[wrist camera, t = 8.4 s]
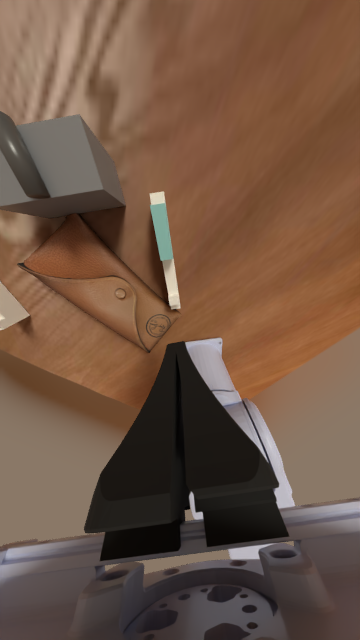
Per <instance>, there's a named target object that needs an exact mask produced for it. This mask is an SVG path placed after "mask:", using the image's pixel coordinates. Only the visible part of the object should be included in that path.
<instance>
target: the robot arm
mask: <svg viewBox="0 0 360 640" xmlns="http://www.w3.org/2000/svg"><path fill="white" fill-rule="evenodd" d="M219 342H220V343H219ZM221 356H222V339H221V338H214V339H207V340H199V341H192V342H184V341H182V342H177V343H171V344H168V345H167V348H166V352H165V355H164V359H163V362H162V365H161V368H160V370H159V373H158V375H157V378H156V380H155V383H154V385H153V387H152V389H151V391H150V394H149V396H148V398H147V400H146V402H145V403H144V405H143V407H142V409H141V411H140V413H139V415H138V416H137V418H136V420H135V421H134V423H133V425H132V426H131V428H130V430H129V431H128V433H127V435H126V436H125V438H124V440H123V441H122V443H121V444H120V446H119V447H118V449H117V450H116V452H115V453H114V454H113V456H112V458H111V459H110V460H109V462H108V463H107V465H106V467H105V468H104V469H103V471H102V472H101V474H100V477H99V480H98V483H97V486H96V489H95V491H94V494H93V498H92V502H91V505H90V509H89V512H88V516H87V520H86V523H85V527H84V530H85V533H96V534H89V535H82V536H74V537H67V538H60V539H53V540H45V541H38V540H37V539H32V540H25V541H17V542H13V543H9V544H6V545H3V546H1V547H0V640H360V497H359V498H352V499H344V500H338V501H330V502H323V503H315V504H308V505H301V506H295V504H294V501H293V499H292V496H291V495H292V490H291V487H290V485H289V482H288V480H287V477H286V474H285V472H284V469H283V462H282V459H281V456H280V454H279V451H278V449H277V447H276V444H275V442H274V440H273V438H272V436H271V433H270V431H269V429H268V427H267V425H266V423H265V421H264V419H263V418H262V415H261V414H260V412H259V410H258V409H257V407H256V406H255V404H254V403H253V402H251V401H250V400H248V399H247V398H244V399H242V400H241V398H240V395H239V393H238V391H236V390H235V388H234V386H233V383H232V381H231V378H230V376H229V374H228V371H227V369H226V367H225V364H224V362H223V360H222V357H221ZM242 401H243V402H242ZM190 506H191V510H192V515H193V517H194V518H195V520H191V521H185V510H188V509H190ZM101 532H103V533H101ZM288 541H294V546H291V545H288V544H285V543H280V542H288ZM226 549H228V552H229V555H230V559H229V560H212V561H204V562H197V563H191V564H186V565H181V566H177V567H173V568H169V569H165V570H161V571H157V572H152V573H148V574H144V565H143V563H139V562H134V561H142V560H149V559H156V558H165V557H172V556H180V555H187V554H196V553H203V552H211V551H219V550H226ZM118 563H121V564H119V565H117V566H115V567H113V568H111V569H109V570H108V571H105V565H111V564H118Z"/></svg>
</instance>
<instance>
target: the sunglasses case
mask: <svg viewBox="0 0 360 640" xmlns="http://www.w3.org/2000/svg"><path fill="white" fill-rule="evenodd" d="M17 265H18V266H19V267H20V268H21V269H23V270H25V271H27V272H29V273H30V274H32V275H33V276H35V277H36V278H38V279H39V280H41V281H42V282H43V283H45V284H46V285H47V286H49V287H50V288H52V289H53V290H54V291H56V292H57V293H59V294H60V295H62V296H63V297H64V298H66V299H67V300H69V301H70V302H72V303H73V304H74V305H76V306H77V307H79V308H80V309H82V310H83V311H85V312H86V313H88V314H89V315H91V316H92V317H94V318H95V319H97V320H98V321H100V322H101V323H103V324H104V325H106V326H107V327H109V328H111V329H112V330H114V331H115V332H117V333H118V334H120V335H121V336H123V337H125V338H126V339H128V340H129V341H131V342H133V343H134V344H136V345H138V346H139V347H141V348H142V349H144V350H145V351H146V352H148V353H150V350H151V349H152V348H153V347H154V346H155V345H156V343H157V342H158V341H159V340H160V339H161V337H162V336H163V335H164V334H165V333H166V331H167V330H168V329H169V328H170V327H171V325H172V324H173V323H174V322H175V321H176V320H177V319H178V318H179V317H181V314H180V313H179V312H178V311H177V310H176V309H171V306H170V305H169V304H167V303H166V302H165V301H164V300H163V299H162V298H160V297H159V296H158V295H157V294H156V293H155V292H154V291H153V290H152V289H151V288H149V287H148V286H147V285H146V284H145V283H144V282H143V281H142V280H141V279H140V278H139V277H138V276H137V275H136V274H135V273H134V272H133V271H132V270H131V269H130V268H129V267H128V266H127V265H126V264H125V263H124V262H123V261H122V260H121V259H120V258H118V257H117V256H116V255H115V253H114V252H112V250H110V249H109V248H108V247H107V246H106V245H105V244H104V243H103V241H102V240H101V239H100V238H99V237H98V236H97V235H96V234H95V233H94V231H92V229H91V228H90V227H89V226H88V225H87V223H86V222H85V221H84V219H83V218H82V217H81V216H80V215H79V214H78V213H74V214H70V215H67V216H66V220H65V221H64V223H63V224H62V226H61V227H60V228H59V229H57V230H56V231H55V233H54V234H52V235H51V236H50V237H49V238H48V239H47V240H46V241H45V242H44V243H43V244H42V245H41V246H40V247H39V248H38V249H37V250H36V251H34V253H32V254H31V256H30V257H29V258H28V259H26V260H25V261H24V263H18V264H17Z"/></svg>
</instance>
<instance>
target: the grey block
mask: <svg viewBox="0 0 360 640" xmlns="http://www.w3.org/2000/svg"><path fill="white" fill-rule="evenodd" d="M122 206H126V205H125V201H124V197H123V193H122V190H121V186H120V182H119V179H118V175H117V171H116V168H115V164H114V161H113V160H112V158H111V157H110V156H109V154H108V153H107V151H106V150H105V149H104V147H103V146H102V145H101V143H100V142H99V141H98V139H97V138H96V136H95V135H94V134H93V132H92V131H91V130H90V128H89V127H88V126H87V124H86V123H85V121H84V120H83V119H82V117H81V116H80V115H73V116H68V117H62V118H56V119H51V120H45V121H40V122H34V123H29V124H23V125H17V126H15V123H14V121H13V120H12V119H11V118H10V117H9V116H8V115H6V114H5V113H3V112H1V111H0V210H6V211H11V212H17V213H22V214H28V215H34V216H39V217H45V218H54V217H60V216H66V215H70V214H74V213H78V214H79V213H85V212H91V211H97V210H104V209H110V208H116V207H122Z"/></svg>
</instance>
